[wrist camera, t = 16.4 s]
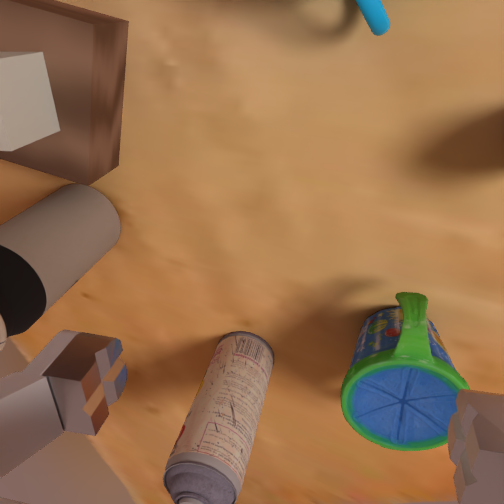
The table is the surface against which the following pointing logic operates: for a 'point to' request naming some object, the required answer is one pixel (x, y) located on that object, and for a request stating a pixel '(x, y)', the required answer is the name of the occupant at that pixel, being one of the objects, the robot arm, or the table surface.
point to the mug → (374, 15)
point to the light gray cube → (25, 100)
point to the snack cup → (401, 379)
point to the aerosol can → (221, 423)
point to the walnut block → (72, 84)
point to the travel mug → (51, 252)
